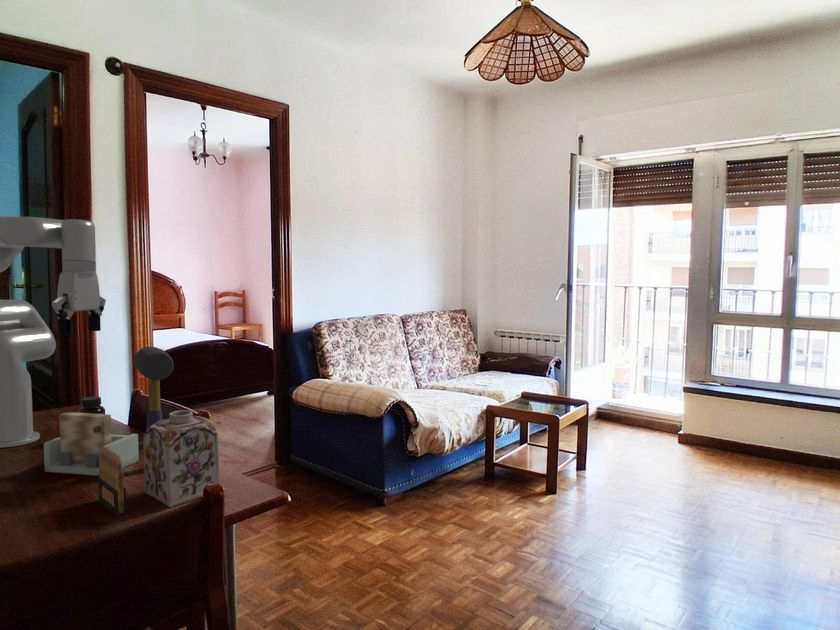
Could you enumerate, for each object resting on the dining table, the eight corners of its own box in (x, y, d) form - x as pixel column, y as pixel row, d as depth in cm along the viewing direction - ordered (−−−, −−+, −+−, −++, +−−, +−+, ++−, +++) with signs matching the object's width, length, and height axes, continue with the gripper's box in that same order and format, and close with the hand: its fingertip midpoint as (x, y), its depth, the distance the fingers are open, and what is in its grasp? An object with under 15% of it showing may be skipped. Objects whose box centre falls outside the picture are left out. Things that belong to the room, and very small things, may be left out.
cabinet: (44, 471, 134) (43, 443, 133) (79, 456, 145) (78, 430, 144) (108, 476, 131) (107, 447, 131) (138, 460, 142) (138, 434, 142)
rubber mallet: (178, 472, 134) (175, 349, 132) (144, 478, 130) (141, 351, 128) (166, 458, 144) (164, 343, 142) (134, 463, 140) (131, 345, 138)
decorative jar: (194, 479, 130) (192, 403, 129) (221, 492, 123) (220, 412, 122) (142, 494, 121) (140, 413, 120) (168, 509, 114) (166, 423, 112)
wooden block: (57, 464, 135) (55, 415, 134) (68, 459, 138) (66, 412, 137) (102, 467, 133) (100, 418, 132) (112, 462, 136) (110, 414, 135)
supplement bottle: (83, 436, 162) (82, 396, 161) (109, 435, 164) (108, 395, 163) (74, 443, 155) (73, 401, 154) (101, 442, 157) (100, 400, 156)
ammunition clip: (98, 500, 118) (96, 445, 117) (108, 498, 119) (106, 443, 118) (116, 515, 110) (115, 457, 109) (126, 513, 112) (125, 454, 111)
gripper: (90, 267, 154) (92, 329, 155) (39, 267, 137) (41, 335, 138) (115, 268, 153) (116, 330, 154) (66, 267, 136) (68, 337, 137)
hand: (81, 332), depth 146 cm, fingers open, 9 cm apart
